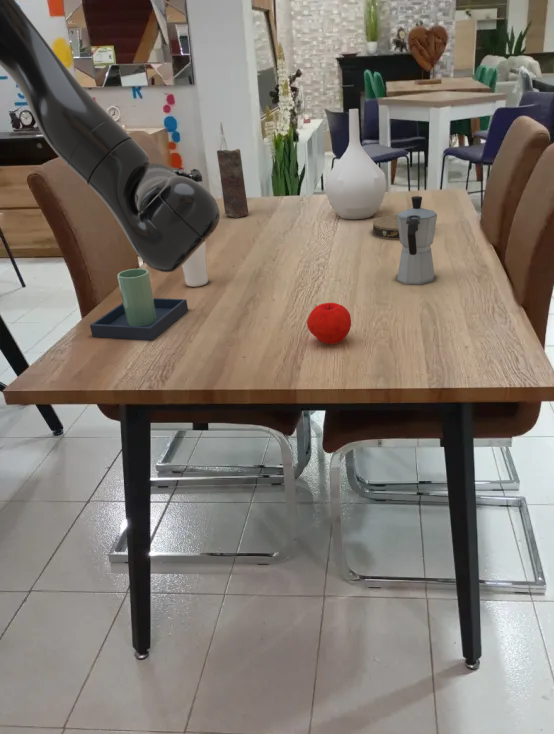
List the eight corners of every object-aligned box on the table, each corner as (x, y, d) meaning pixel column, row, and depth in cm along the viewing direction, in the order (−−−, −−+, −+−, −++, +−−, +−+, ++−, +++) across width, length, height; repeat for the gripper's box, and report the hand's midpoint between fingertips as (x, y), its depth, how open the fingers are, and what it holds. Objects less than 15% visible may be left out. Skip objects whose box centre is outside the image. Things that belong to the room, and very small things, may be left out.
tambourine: (441, 234, 188) (441, 223, 186) (388, 242, 183) (388, 231, 182) (413, 222, 201) (413, 211, 199) (363, 230, 196) (363, 219, 195)
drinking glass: (180, 289, 159) (170, 223, 151) (184, 280, 165) (174, 216, 157) (210, 287, 159) (200, 221, 151) (212, 278, 165) (204, 214, 157)
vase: (381, 207, 219) (380, 104, 205) (391, 220, 204) (390, 110, 189) (324, 211, 219) (319, 108, 204) (329, 225, 203) (324, 114, 188)
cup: (148, 327, 138) (139, 278, 133) (121, 325, 139) (111, 277, 134) (162, 316, 143) (153, 269, 138) (136, 314, 144) (127, 268, 139)
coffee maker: (400, 269, 163) (401, 190, 154) (438, 270, 160) (440, 190, 152) (390, 290, 150) (389, 205, 141) (430, 291, 148) (432, 205, 139)
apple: (302, 348, 125) (299, 310, 122) (317, 332, 132) (315, 295, 128) (344, 352, 123) (342, 313, 119) (357, 335, 129) (356, 297, 126)
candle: (220, 216, 220) (211, 150, 210) (236, 211, 225) (229, 146, 215) (236, 219, 216) (229, 151, 206) (253, 214, 221) (246, 147, 211)
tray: (152, 340, 133) (150, 328, 132) (92, 336, 136) (89, 324, 135) (188, 310, 146) (186, 299, 145) (132, 307, 150) (130, 296, 148)
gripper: (208, 162, 91) (191, 147, 104) (97, 174, 87) (94, 156, 101) (216, 220, 95) (198, 198, 108) (109, 233, 91) (105, 209, 105)
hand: (148, 178), depth 105 cm, fingers open, 8 cm apart
